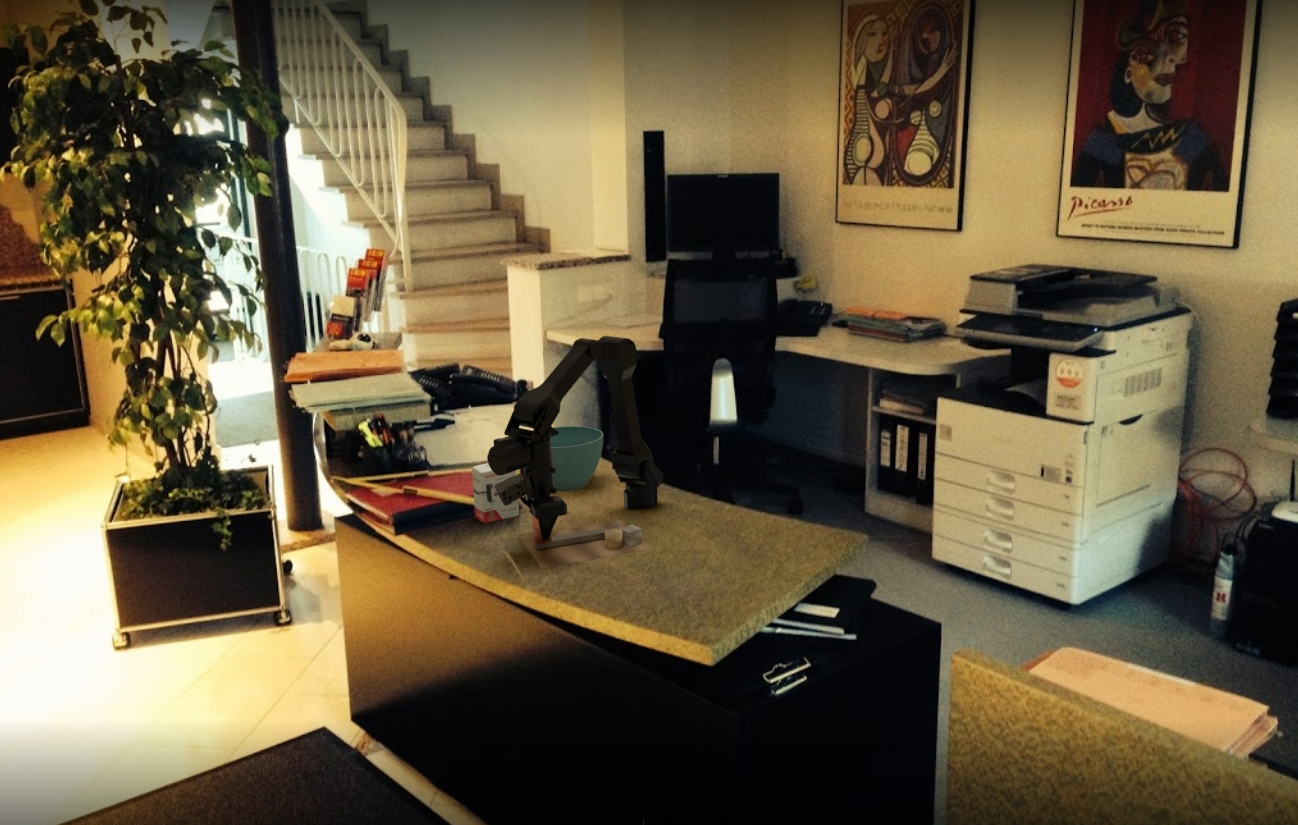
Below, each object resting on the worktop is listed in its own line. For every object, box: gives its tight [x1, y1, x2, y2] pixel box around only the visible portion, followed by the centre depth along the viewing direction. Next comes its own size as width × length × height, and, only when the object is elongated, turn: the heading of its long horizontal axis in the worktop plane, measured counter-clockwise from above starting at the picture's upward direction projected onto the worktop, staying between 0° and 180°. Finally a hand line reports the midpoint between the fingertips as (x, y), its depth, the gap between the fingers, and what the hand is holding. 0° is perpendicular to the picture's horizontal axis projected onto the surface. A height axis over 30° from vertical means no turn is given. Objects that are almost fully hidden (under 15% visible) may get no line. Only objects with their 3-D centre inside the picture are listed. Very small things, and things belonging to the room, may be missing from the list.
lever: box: [531, 515, 607, 549], centre depth 221 cm, size 15×4×8 cm, turn 109°
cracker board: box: [519, 519, 651, 569], centre depth 222 cm, size 22×18×4 cm
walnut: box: [605, 528, 623, 549], centre depth 219 cm, size 4×4×3 cm
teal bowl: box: [551, 425, 604, 493], centre depth 259 cm, size 18×18×12 cm
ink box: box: [471, 462, 520, 524], centre depth 241 cm, size 8×5×12 cm, turn 123°
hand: (542, 536), depth 220 cm, fingers open, 4 cm apart
